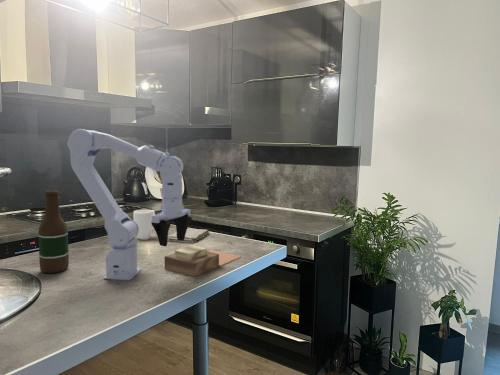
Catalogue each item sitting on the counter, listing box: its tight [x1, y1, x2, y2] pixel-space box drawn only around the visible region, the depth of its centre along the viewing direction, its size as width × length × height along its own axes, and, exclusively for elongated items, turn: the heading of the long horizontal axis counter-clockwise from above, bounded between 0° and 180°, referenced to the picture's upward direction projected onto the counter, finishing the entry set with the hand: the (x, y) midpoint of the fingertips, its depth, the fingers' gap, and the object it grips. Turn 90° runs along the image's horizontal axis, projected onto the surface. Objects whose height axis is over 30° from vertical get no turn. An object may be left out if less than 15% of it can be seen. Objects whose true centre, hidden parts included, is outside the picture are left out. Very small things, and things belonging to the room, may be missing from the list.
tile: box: [174, 244, 208, 261], centre depth 114 cm, size 8×6×2 cm
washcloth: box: [167, 228, 210, 244], centre depth 153 cm, size 12×18×3 cm, turn 167°
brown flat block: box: [164, 251, 220, 278], centre depth 115 cm, size 12×12×4 cm
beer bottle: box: [37, 189, 70, 274], centre depth 109 cm, size 8×8×24 cm
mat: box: [207, 249, 242, 267], centre depth 125 cm, size 12×13×1 cm
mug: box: [133, 208, 156, 241], centre depth 149 cm, size 12×8×11 cm
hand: (172, 242), depth 108 cm, fingers open, 7 cm apart
